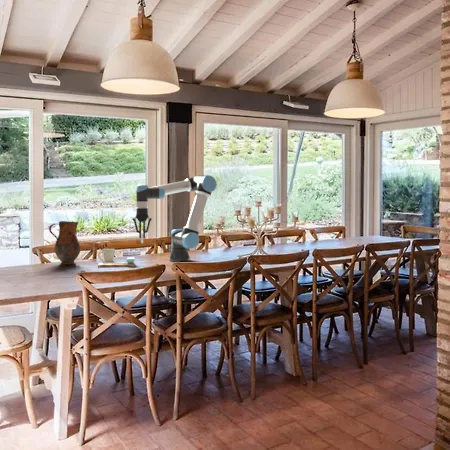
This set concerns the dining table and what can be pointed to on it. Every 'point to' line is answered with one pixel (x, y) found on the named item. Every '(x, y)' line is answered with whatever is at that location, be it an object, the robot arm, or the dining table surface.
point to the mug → (107, 255)
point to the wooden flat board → (115, 265)
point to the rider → (130, 260)
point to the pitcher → (67, 243)
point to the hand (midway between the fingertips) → (142, 242)
